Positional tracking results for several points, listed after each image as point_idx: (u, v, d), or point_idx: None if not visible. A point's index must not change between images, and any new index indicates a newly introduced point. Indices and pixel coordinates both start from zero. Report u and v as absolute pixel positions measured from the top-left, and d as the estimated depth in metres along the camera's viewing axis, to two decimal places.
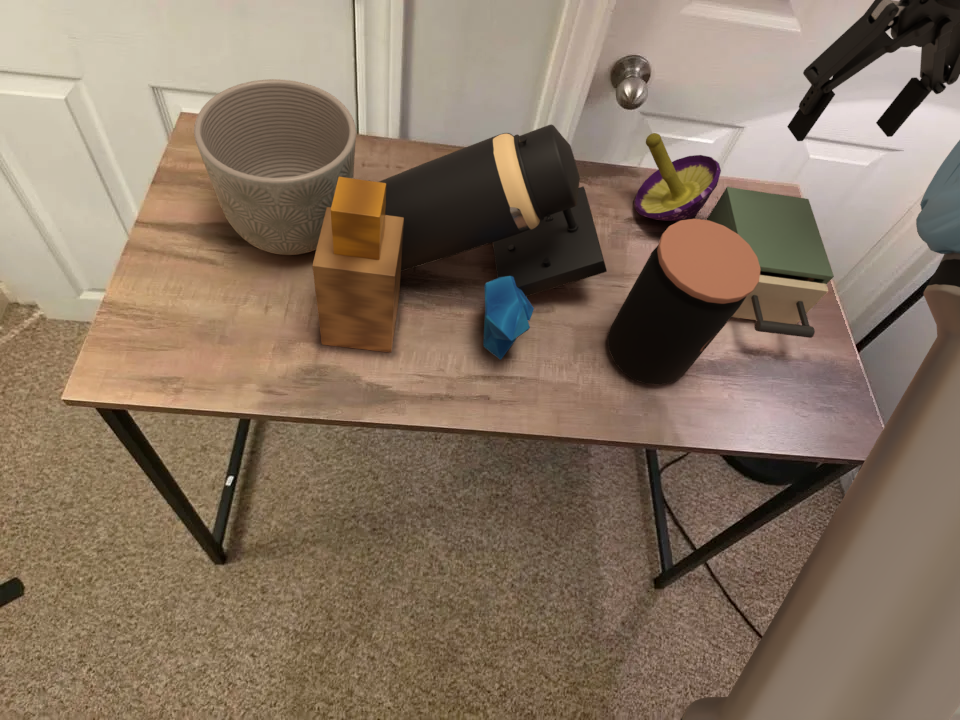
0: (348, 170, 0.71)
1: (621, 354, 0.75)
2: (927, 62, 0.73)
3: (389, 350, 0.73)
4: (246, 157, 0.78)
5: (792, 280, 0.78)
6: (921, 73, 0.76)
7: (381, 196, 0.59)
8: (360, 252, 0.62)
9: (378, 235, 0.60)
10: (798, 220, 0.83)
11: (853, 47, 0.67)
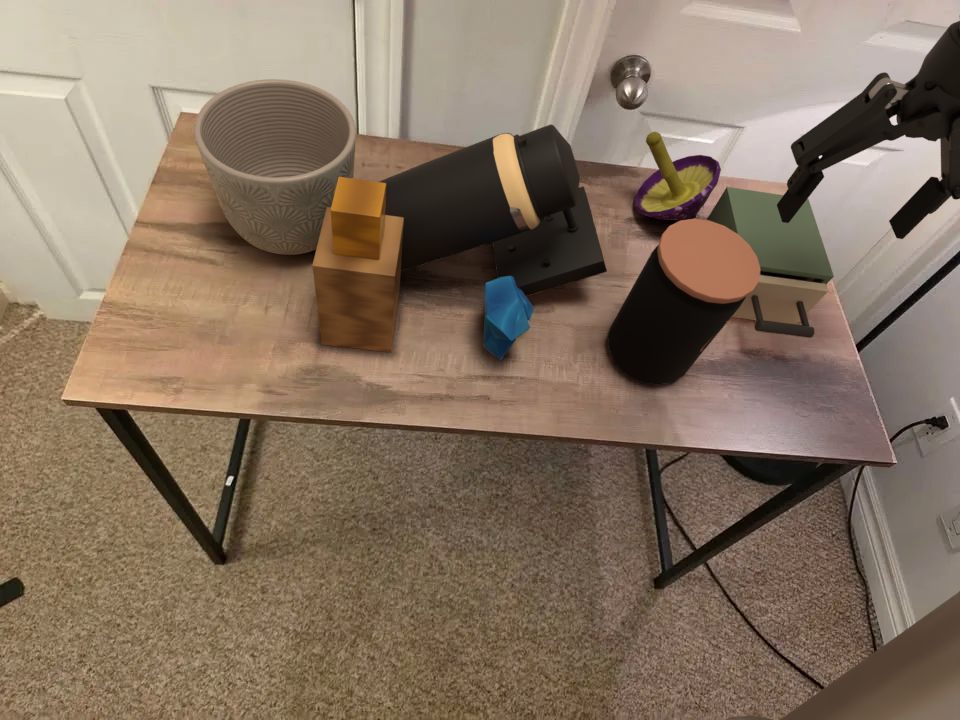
0: (348, 170, 0.71)
1: (621, 354, 0.75)
2: (945, 161, 0.63)
3: (389, 350, 0.73)
4: (246, 157, 0.78)
5: (792, 280, 0.78)
6: (942, 173, 0.66)
7: (381, 196, 0.59)
8: (360, 252, 0.62)
9: (378, 235, 0.60)
10: (798, 220, 0.83)
11: (842, 126, 0.59)
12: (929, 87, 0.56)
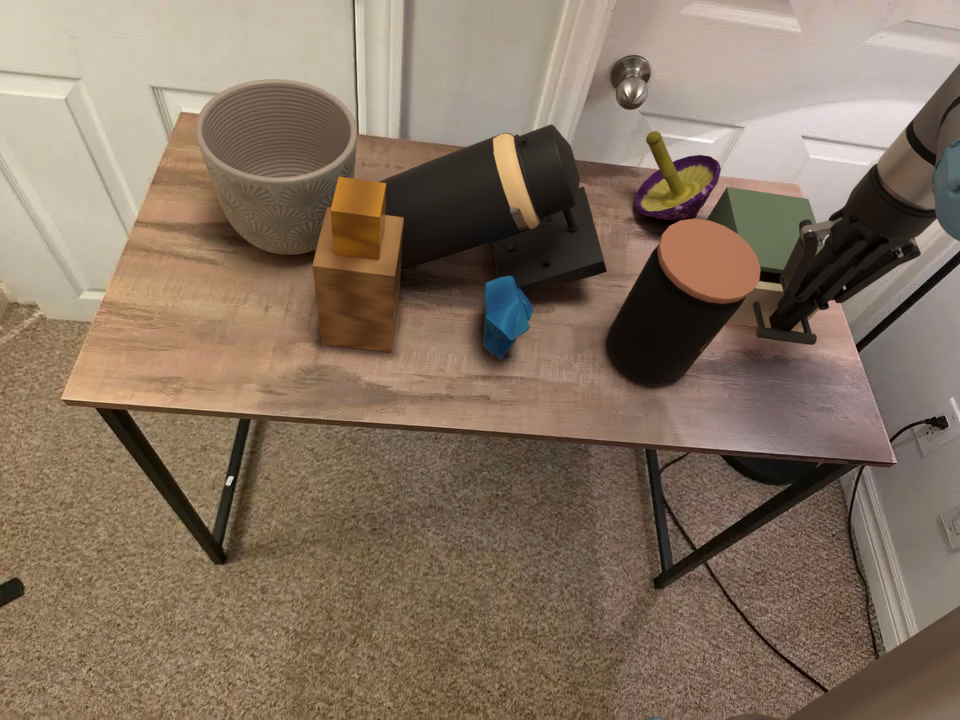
0: (349, 171, 0.71)
1: (622, 354, 0.75)
2: (834, 274, 0.70)
3: (389, 350, 0.73)
4: (247, 157, 0.78)
5: None
6: None
7: (381, 196, 0.59)
8: (360, 252, 0.62)
9: (378, 235, 0.60)
10: (798, 220, 0.83)
11: (796, 267, 0.68)
12: (854, 220, 0.62)
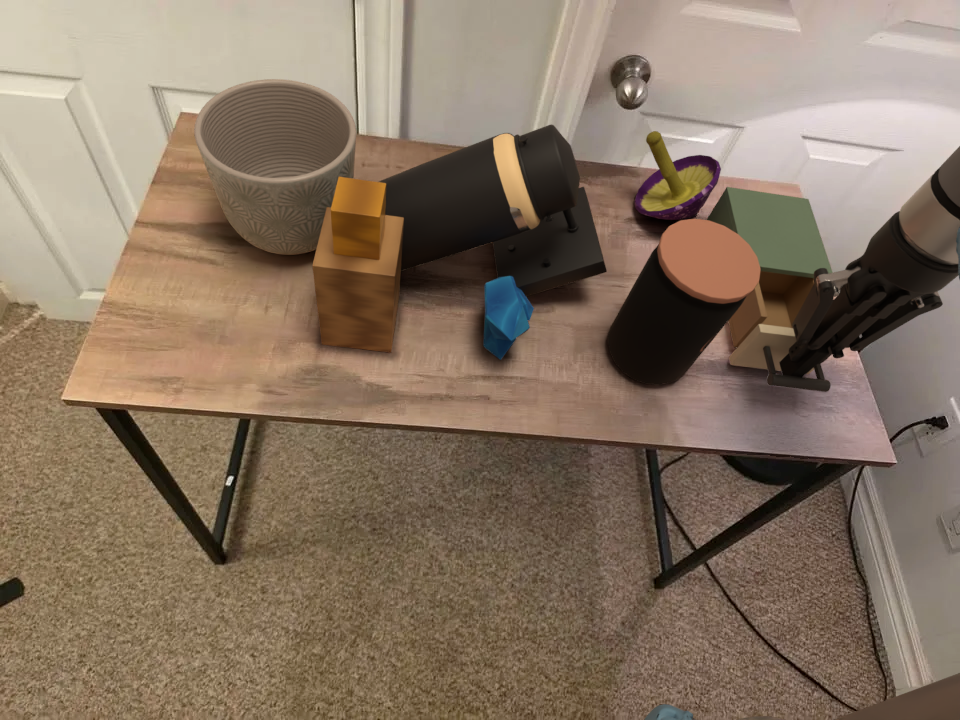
0: (348, 171, 0.71)
1: (621, 354, 0.75)
2: (849, 322, 0.67)
3: (389, 350, 0.73)
4: (247, 157, 0.78)
5: None
6: None
7: (381, 196, 0.59)
8: (360, 252, 0.62)
9: (378, 235, 0.60)
10: (798, 220, 0.83)
11: (811, 316, 0.64)
12: (873, 270, 0.59)
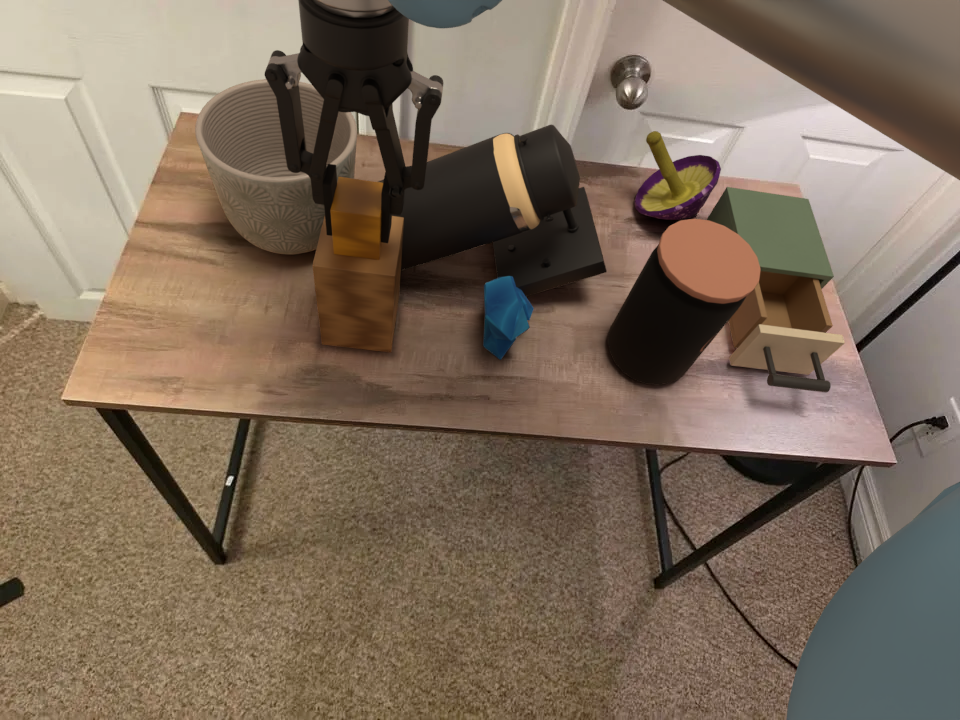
0: (348, 171, 0.71)
1: (621, 354, 0.75)
2: None
3: (389, 350, 0.73)
4: (248, 156, 0.78)
5: (806, 331, 0.74)
6: None
7: None
8: (360, 252, 0.62)
9: (378, 235, 0.60)
10: (798, 220, 0.83)
11: (280, 122, 0.51)
12: None
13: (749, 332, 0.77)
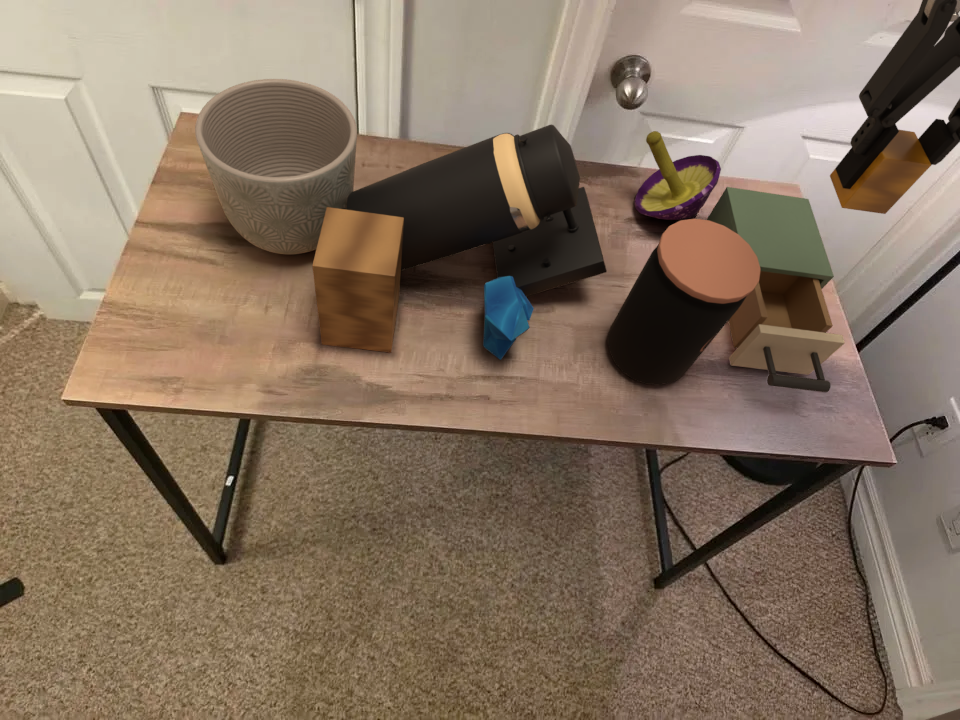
0: (348, 171, 0.71)
1: (621, 354, 0.75)
2: None
3: (389, 350, 0.73)
4: (248, 156, 0.78)
5: (806, 331, 0.74)
6: (954, 110, 0.54)
7: (919, 145, 0.57)
8: (872, 206, 0.60)
9: (910, 186, 0.57)
10: (798, 220, 0.83)
11: (905, 60, 0.49)
12: None
13: (749, 332, 0.77)
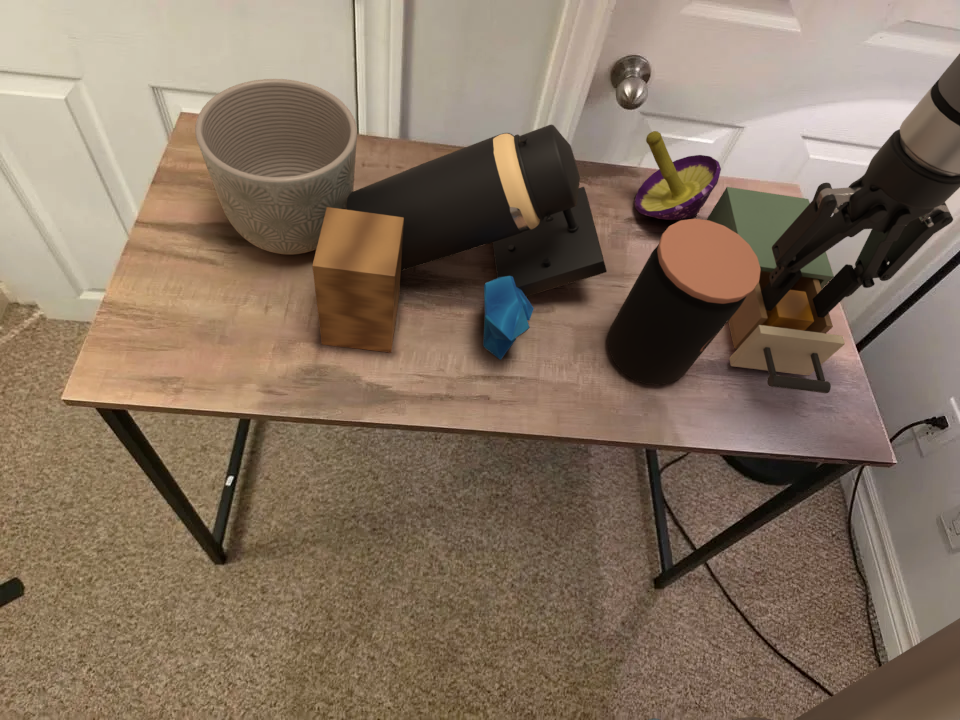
0: (348, 171, 0.71)
1: (621, 354, 0.75)
2: (869, 250, 0.68)
3: (389, 350, 0.73)
4: (248, 156, 0.78)
5: (807, 332, 0.74)
6: (857, 260, 0.71)
7: (807, 303, 0.77)
8: None
9: None
10: None
11: (802, 233, 0.65)
12: (874, 188, 0.60)
13: (749, 333, 0.77)
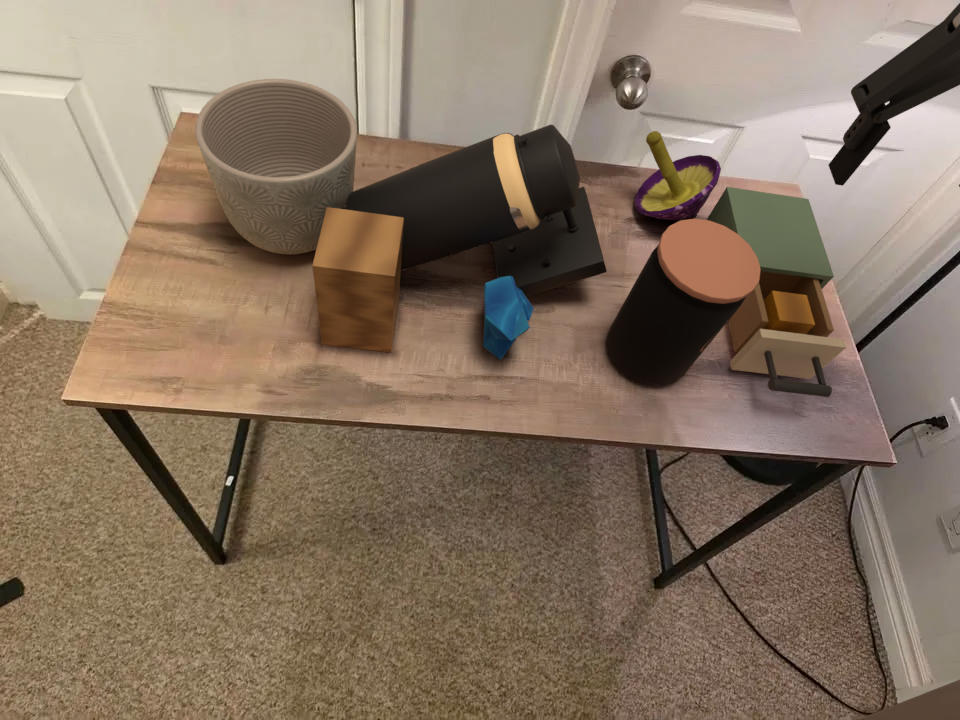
0: (348, 171, 0.71)
1: (622, 354, 0.75)
2: None
3: (389, 350, 0.73)
4: (248, 156, 0.78)
5: (808, 336, 0.73)
6: None
7: (808, 306, 0.76)
8: None
9: None
10: (798, 220, 0.83)
11: (919, 62, 0.49)
12: None
13: (750, 336, 0.77)
